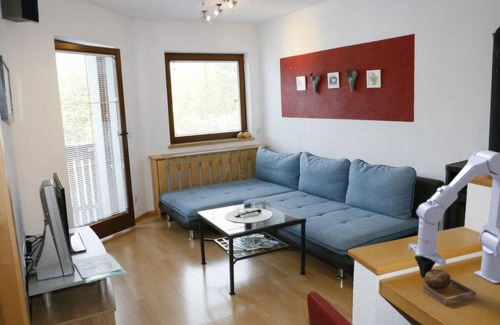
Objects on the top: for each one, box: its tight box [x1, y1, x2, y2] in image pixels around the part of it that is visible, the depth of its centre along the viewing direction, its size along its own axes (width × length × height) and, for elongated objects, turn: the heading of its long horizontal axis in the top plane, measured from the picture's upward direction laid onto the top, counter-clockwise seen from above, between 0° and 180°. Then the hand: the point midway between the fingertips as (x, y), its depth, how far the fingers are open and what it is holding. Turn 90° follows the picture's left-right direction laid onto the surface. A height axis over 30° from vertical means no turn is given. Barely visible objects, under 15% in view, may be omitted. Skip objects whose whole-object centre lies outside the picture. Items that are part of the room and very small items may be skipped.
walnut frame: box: [422, 278, 477, 306], centre depth 124 cm, size 12×9×2 cm
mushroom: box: [423, 268, 452, 292], centre depth 128 cm, size 8×8×6 cm
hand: (424, 277), depth 133 cm, fingers closed
